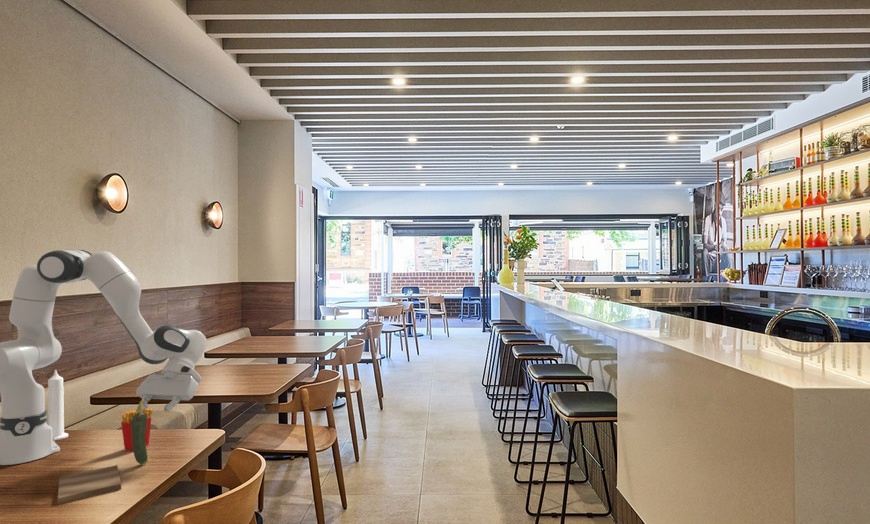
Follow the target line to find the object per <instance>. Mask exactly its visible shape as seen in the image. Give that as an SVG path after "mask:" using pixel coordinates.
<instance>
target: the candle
mask: <svg viewBox="0 0 870 524" xmlns="http://www.w3.org/2000/svg"><path fill="white" fill-rule="evenodd" d="M57 370H58V369H54V372H53V374H52V376H51V377H50V378H48V379H47V390H48V391H47V393H48V394H47V396H48V400H47V401H48V408H47V410H48V425H49V426H50V427H52V437H54V440H53V441H54V442H55V441H59V440H63V439H66V438H69V433H68V432H65V406H64V404H65V403H64V401H65V400H64V399H65V396H64V395H65V394H64V391H65V389H64V387H65V386H64V377H63V376H60V375H59V374H58V371H57Z"/></svg>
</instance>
